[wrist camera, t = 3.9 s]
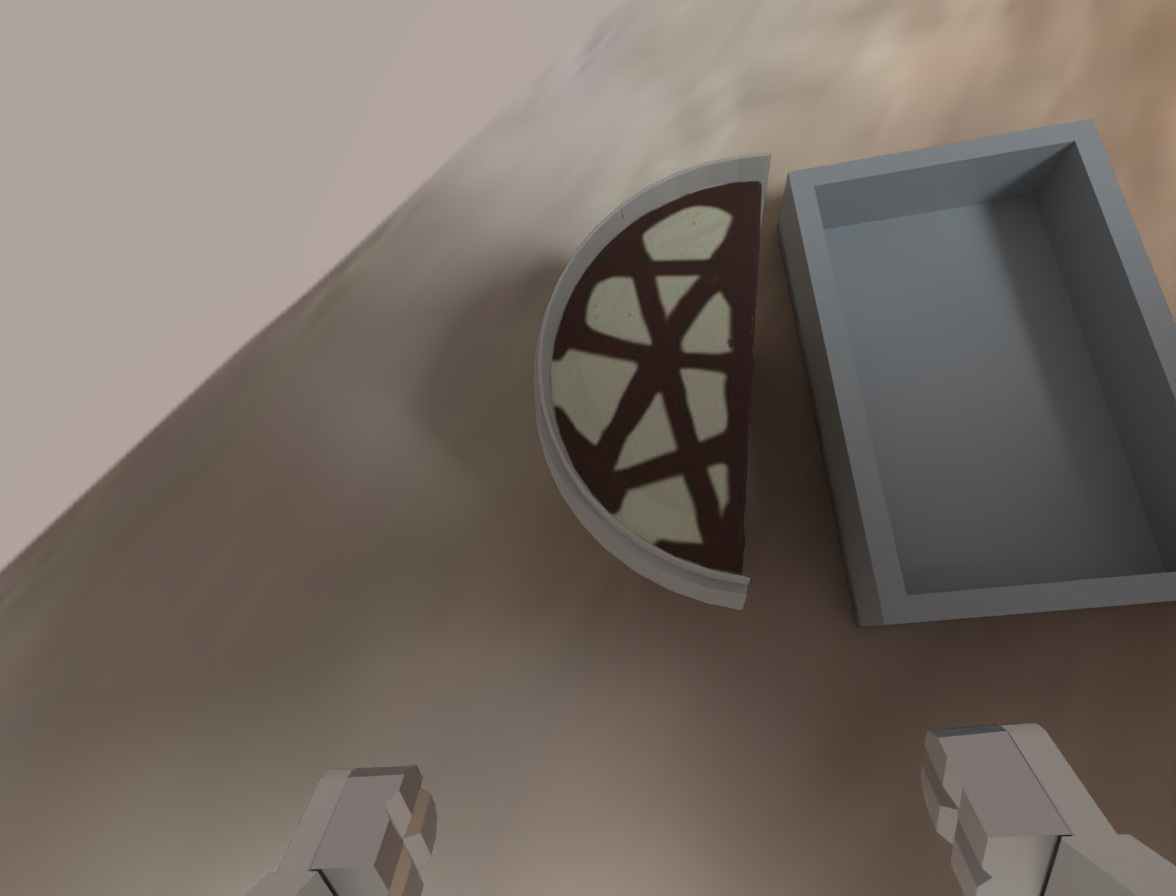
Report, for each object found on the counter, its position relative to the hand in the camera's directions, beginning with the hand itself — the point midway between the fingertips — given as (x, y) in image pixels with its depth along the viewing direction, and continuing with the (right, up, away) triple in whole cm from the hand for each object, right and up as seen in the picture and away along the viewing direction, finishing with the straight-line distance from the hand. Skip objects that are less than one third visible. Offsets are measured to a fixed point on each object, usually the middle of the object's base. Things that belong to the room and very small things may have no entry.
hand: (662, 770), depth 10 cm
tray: (+13, +7, +14) cm, 20 cm away
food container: (+2, +5, +15) cm, 16 cm away
